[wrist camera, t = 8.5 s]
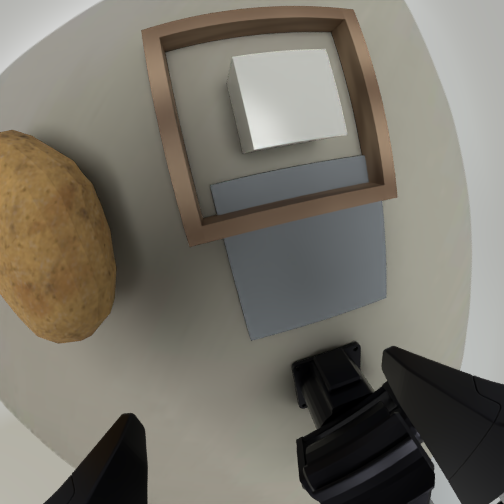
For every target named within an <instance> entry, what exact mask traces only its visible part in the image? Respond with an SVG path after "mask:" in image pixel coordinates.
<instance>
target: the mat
mask: <svg viewBox="0 0 504 504" xmlns="http://www.w3.org/2000/svg"><path fill="white" fill-rule="evenodd" d="M368 182H369V180H368V172H367V166H366V159H365V155H360V156H353V157H347V158H340V159H334V160H328V161H322V162H316V163H310V164H305V165H299V166H294V167H289V168H284V169H279V170H274V171H269V172H264V173H260V174H255V175H251V176H246V177H242V178H237V179H233V180H229V181H225V182H221V183H217V184H213V185H210V186H211V191H212V195H213V199H214V203H215V207H216V211H217V215H222V214H226V213H230V212H234V211H238V210H242V209H246V208H251V207H255V206H259V205H263V204H268V203H272V202H276V201H281V200H285V199H290V198H294V197H299V196H303V195H308V194H313V193H317V192H322V191H327V190H332V189H337V188H342V187H347V186H352V185H357V184H363V183H368ZM224 242H225V246H226V250H227V254H228V258H229V262H230V265H231V269H232V273H233V277H234V281H235V284H236V288H237V292H238V295H239V299H240V303H241V306H242V310H243V314H244V317H245V321H246V325H247V328H248V332H249V335H250V339H251V341H252V340H256V339H259V338H263V337H267V336H271V335H274V334H278V333H281V332H285V331H288V330H292V329H295V328H299V327H302V326H305V325H309V324H312V323H315V322H318V321H321V320H325V319H328V318H331V317H334V316H337V315H340V314H343V313H346V312H349V311H351V310H354V309H357V308H360V307H363V306H366V305H368V304H371V303H374V302H377V301H379V300H382V299H385V298H386V247H385V229H384V216H383V205H382V201H378V202H374V203H369V204H365V205H361V206H356V207H352V208H347V209H343V210H339V211H334V212H330V213H326V214H321V215H317V216H313V217H309V218H304V219H300V220H296V221H292V222H288V223H283V224H279V225H275V226H271V227H267V228H263V229H259V230H255V231H251V232H247V233H243V234H239V235H235V236H231V237H227V238H224Z"/></svg>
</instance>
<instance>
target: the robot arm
mask: <svg viewBox="0 0 504 504" xmlns="http://www.w3.org/2000/svg"><path fill="white" fill-rule="evenodd" d="M355 347H356V348H355ZM360 356H361V347H360V345H359V343H357V342H354V343H351V344H349V345H346V346H343V347H340V348H338V349H335V350H332V351H329V352H326V353H323V354H320V355H317V356H314V357H311V358H307V359H304V360H301V361H298V362H295V363H294V364H293V365H292V372H293V377H294V383H295V388H296V393H297V399H298V404H299V407H300V408H302V409H303V408H307V407H308V409H309V411H310V414H311V416H312V419H313V421H314V424H315V426H316V428H317V430H315V431H313V432H312V433H310V434H308V435H306V436H304V437H300V438H299V439H297V440H296V443H297V457H298V468H299V479H300V482H301V483H302V487H303V489H305V490H306V491H307V492H308V493H309V495H310V496H311V497H312V498H314V499H315V500H317V501H319V502H320V503H321V504H433V502H432V500H431V499H430V497H431V491H432V489H433V488H434V485H435V473H434V464H433V463H432V461H431V459H430V458H429V456H428V455H427V453H426V452H425V450H424V449H423V447H422V446H421V443H422V442H424V443H425V444H426V446H427V447H428V449H429V451H430V452H431V454H432V455H433V457H434V458H435V460H436V462H437V463H438V465H439V467H440V468H441V470H442V471H443V473H444V475H445V476H446V478H447V480H449V483H450V485H451V487H452V488H453V490H454V492H455V493H456V495H457V497H458V499H459V500H460V502H461V504H489V503H491V502H492V501H493V500H495V499H496V498H498V497H499V498H500V499H501V500H500V501H499V502H498V503H497V504H504V384H500V383H496V382H492V381H489V380H486V379H482V378H480V377H477V376H472V375H471V374H468V373H465V372H462V371H460V370H457V369H454V368H451V367H449V366H446V365H443V364H441V363H438V362H435V361H432V360H430V359H427V358H425V357H422V356H419V355H417V354H414V353H411V352H409V351H406V350H404V349H401V348H398V347H396V346H391V347H389V348H387V349H385V350H384V351H383V357H382V370H383V373H384V375H385V377H386V379H387V382H385V383H384V384H383V386H382V387H380V388H379V389H378V390H376V391H374V390H373V388H372V387H371V385H370V384H369V383H368V381H367V380H366V378H365V377H364V375H363V374H362V372H361V371H360ZM296 367H298V368H296ZM147 481H148V463H147V450H146V436H145V428H144V426H143V425H142V423H141V422H140V421H139V420H138V418H137V417H136V416H135V415H134V414H133V413H124V414H122V415H121V416H120V417H119V418H118V420H117V421H116V422H115V423H114V424H113V426H112V427H111V428H110V429H109V430H108V432H107V433H106V434H105V435H104V436H103V437H102V439H101V440H100V441H99V442H98V443H97V445H96V446H95V447H94V448H93V449H92V451H91V452H90V453H89V454H88V455H87V457H86V458H85V459H84V460H83V461H82V462H81V464H80V465H79V466H78V467H77V468H76V470H75V471H74V472H73V473H72V475H71V476H70V477H69V478H68V479H67V480H66V481H65V482H64V484H63V485H62V486H61V487H60V488H59V489H58V490H57V491H56V492H55V493H54V494H53V495H52V496H51V497H50V498H49V499H48V500H47V501H46V502H45V503H43V504H147Z"/></svg>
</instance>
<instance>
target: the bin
mask: <svg viewBox="0 0 504 504" xmlns="http://www.w3.org/2000/svg"><path fill="white" fill-rule="evenodd" d="M141 32H142V39H143V46H144V52H145V58H146V64H147V70H148V75H149V81H150V86H151V91H152V97H153V102H154V107H155V112H156V116H157V121H158V126H159V130H160V135H161V139H162V144H163V148H164V152H165V157H166V161H167V165H168V169H169V173H170V177H171V181H172V185H173V189H174V193H175V197H176V200H177V204H178V208H179V211H180V215H181V219H182V222H183V226H184V230H185V233H186V237H187V240H188V243H189V247H192V246H196V245H200V244H203V243H207V242H211V241H215V240H219V239H223V238H227V237H231V236H235V235H239V234H243V233H247V232H251V231H255V230H259V229H263V228H267V227H271V226H275V225H279V224H283V223H288V222H292V221H296V220H300V219H304V218H309V217H313V216H317V215H321V214H326V213H330V212H334V211H339V210H343V209H347V208H352V207H356V206H361V205H365V204H369V203H374V202H378V201H383V200H388V199H392V198H397V187H396V178H395V170H394V163H393V156H392V149H391V143H390V137H389V132H388V126H387V121H386V116H385V112H384V107H383V103H382V98H381V94H380V90H379V86H378V82H377V79H376V75H375V71H374V68H373V65H372V61H371V58H370V55H369V52H368V48H367V45H366V42H365V39H364V37H363V34H362V31H361V28H360V25H359V23H358V20H357V18H356V15H355V12H354V10H353V9H343V8H332V7H315V6H275V7H258V8H246V9H237V10H229V11H222V12H216V13H210V14H204V15H199V16H194V17H189V18H185V19H180V20H176V21H172V22H168V23H164V24H161V25H157V26H154V27H150V28H147V29H144V30H141ZM283 32H331V33H332V36H333V39H334V42H335V45H336V48H337V51H338V54H339V58H340V61H341V64H342V68H343V72H344V75H345V79H346V83H347V86H348V90H349V94H350V98H351V103H352V107H353V111H354V116H355V121H356V125H357V130H358V135H359V141H360V146H361V152H362V155H365V159H366V166H367V172H368V180H369V182H368V183H363V184H357V185H352V186H347V187H342V188H337V189H332V190H327V191H322V192H317V193H313V194H308V195H303V196H299V197H294V198H290V199H285V200H281V201H276V202H272V203H268V204H263V205H259V206H255V207H251V208H246V209H242V210H238V211H234V212H230V213H226V214H222V215H214V216H210V217H206V218H203V217H202V213H201V209H200V206H199V202H198V198H197V194H196V190H195V186H194V182H193V178H192V174H191V170H190V165H189V161H188V157H187V153H186V149H185V144H184V140H183V136H182V131H181V127H180V122H179V118H178V113H177V109H176V104H175V99H174V94H173V90H172V85H171V80H170V75H169V70H168V65H167V59H166V54H165V52H167V51H171V50H174V49H178V48H182V47H186V46H191V45H195V44H200V43H205V42H210V41H215V40H221V39H227V38H233V37H241V36H248V35H258V34H268V33H283Z"/></svg>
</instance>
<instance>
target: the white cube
mask: <svg viewBox="0 0 504 504" xmlns="http://www.w3.org/2000/svg"><path fill="white" fill-rule="evenodd" d="M227 87H228V92H229V96H230V100H231V104H232V108H233V113H234V117H235V121H236V126H237V130H238V134H239V139H240V143H241V147H242V152H243V154H245V153H249V152H254V151H259V150H264V149H269V148H274V147H280V146H285V145H291V144H297V143H303V142H310V141H316V140H321V139H327V138H332V137H338V136H344V135H347V130H346V125H345V120H344V116H343V111H342V107H341V103H340V99H339V95H338V91H337V87H336V83H335V79H334V75H333V72H332V68H331V65H330V61H329V58H328V55H327V51H326V49H306V50H287V51H275V52H265V53H256V54H248V55H241V56H235V57H232V60H231V65H230V69H229V74H228V79H227Z"/></svg>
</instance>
